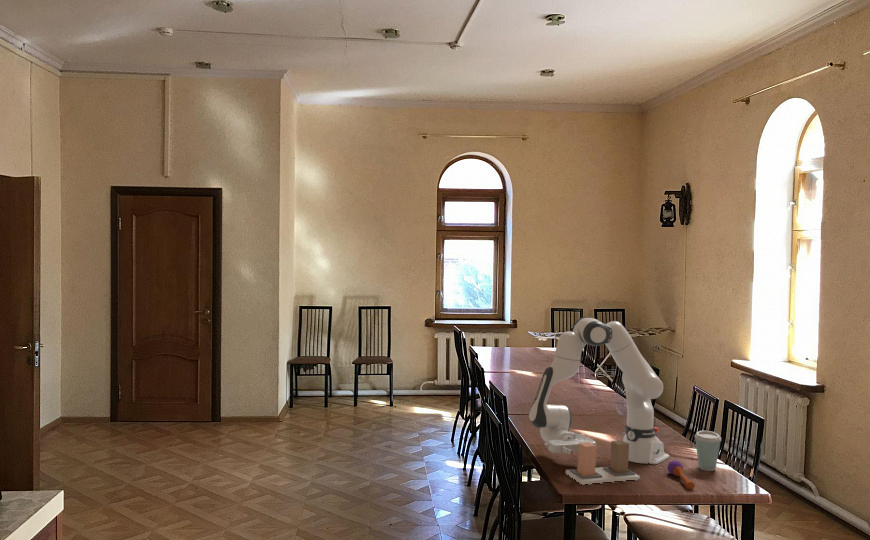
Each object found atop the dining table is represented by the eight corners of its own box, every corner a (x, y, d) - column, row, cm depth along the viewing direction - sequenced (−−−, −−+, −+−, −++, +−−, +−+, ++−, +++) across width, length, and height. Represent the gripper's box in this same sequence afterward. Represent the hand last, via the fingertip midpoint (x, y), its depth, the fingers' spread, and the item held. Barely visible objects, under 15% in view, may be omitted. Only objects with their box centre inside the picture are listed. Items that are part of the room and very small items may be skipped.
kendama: (681, 479, 267) (664, 459, 287) (683, 494, 268) (666, 472, 288) (697, 477, 267) (679, 457, 287) (698, 492, 268) (680, 470, 287)
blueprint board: (621, 469, 288) (622, 437, 288) (639, 480, 276) (641, 446, 275) (565, 473, 280) (567, 440, 279) (582, 485, 268) (583, 450, 267)
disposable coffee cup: (722, 474, 287) (724, 438, 287) (694, 471, 289) (696, 435, 289) (717, 466, 298) (719, 431, 297) (690, 463, 300) (692, 429, 299)
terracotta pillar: (588, 471, 279) (589, 442, 278) (594, 475, 274) (596, 445, 273) (577, 472, 277) (578, 442, 277) (583, 476, 272) (585, 446, 272)
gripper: (542, 435, 289) (558, 445, 276) (585, 433, 295) (603, 442, 282) (542, 450, 289) (558, 461, 276) (585, 447, 296) (602, 457, 283)
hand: (581, 451), depth 279 cm, fingers open, 8 cm apart
